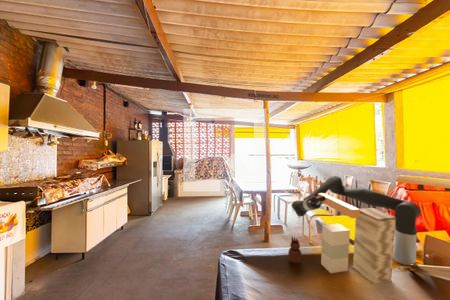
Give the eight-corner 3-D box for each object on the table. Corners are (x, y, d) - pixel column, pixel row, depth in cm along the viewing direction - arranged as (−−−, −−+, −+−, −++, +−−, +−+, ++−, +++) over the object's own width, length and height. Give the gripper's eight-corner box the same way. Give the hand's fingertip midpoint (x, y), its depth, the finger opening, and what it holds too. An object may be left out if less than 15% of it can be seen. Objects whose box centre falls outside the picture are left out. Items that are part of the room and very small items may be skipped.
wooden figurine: (287, 262, 123) (288, 236, 121) (289, 257, 128) (290, 232, 126) (300, 266, 119) (300, 239, 118) (301, 260, 124) (302, 235, 123)
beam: (323, 199, 129) (324, 193, 128) (359, 217, 103) (359, 209, 103) (317, 200, 128) (317, 193, 127) (351, 218, 102) (352, 209, 102)
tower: (336, 261, 123) (338, 223, 121) (347, 270, 116) (349, 230, 113) (321, 263, 121) (322, 225, 119) (330, 273, 113) (332, 232, 111)
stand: (368, 264, 121) (372, 207, 118) (391, 280, 108) (395, 217, 105) (352, 267, 118) (356, 209, 115) (373, 283, 106) (378, 218, 103)
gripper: (323, 209, 137) (341, 203, 121) (302, 210, 134) (318, 205, 119) (320, 197, 140) (337, 190, 124) (299, 198, 137) (314, 191, 122)
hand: (328, 197), depth 122 cm, fingers closed on beam, 4 cm apart
